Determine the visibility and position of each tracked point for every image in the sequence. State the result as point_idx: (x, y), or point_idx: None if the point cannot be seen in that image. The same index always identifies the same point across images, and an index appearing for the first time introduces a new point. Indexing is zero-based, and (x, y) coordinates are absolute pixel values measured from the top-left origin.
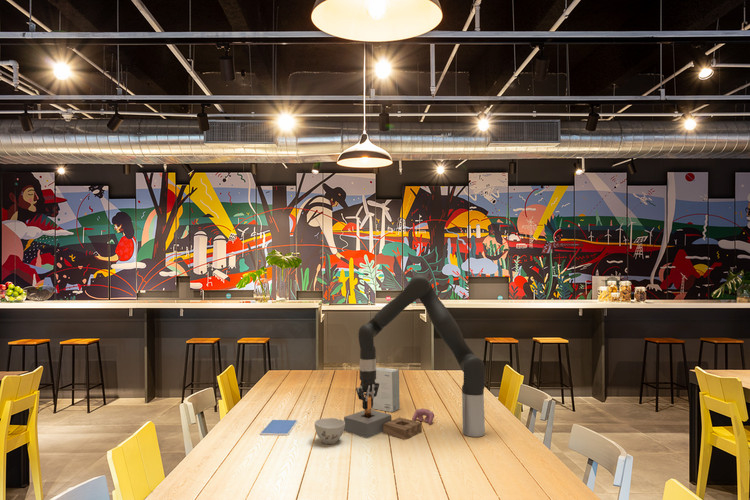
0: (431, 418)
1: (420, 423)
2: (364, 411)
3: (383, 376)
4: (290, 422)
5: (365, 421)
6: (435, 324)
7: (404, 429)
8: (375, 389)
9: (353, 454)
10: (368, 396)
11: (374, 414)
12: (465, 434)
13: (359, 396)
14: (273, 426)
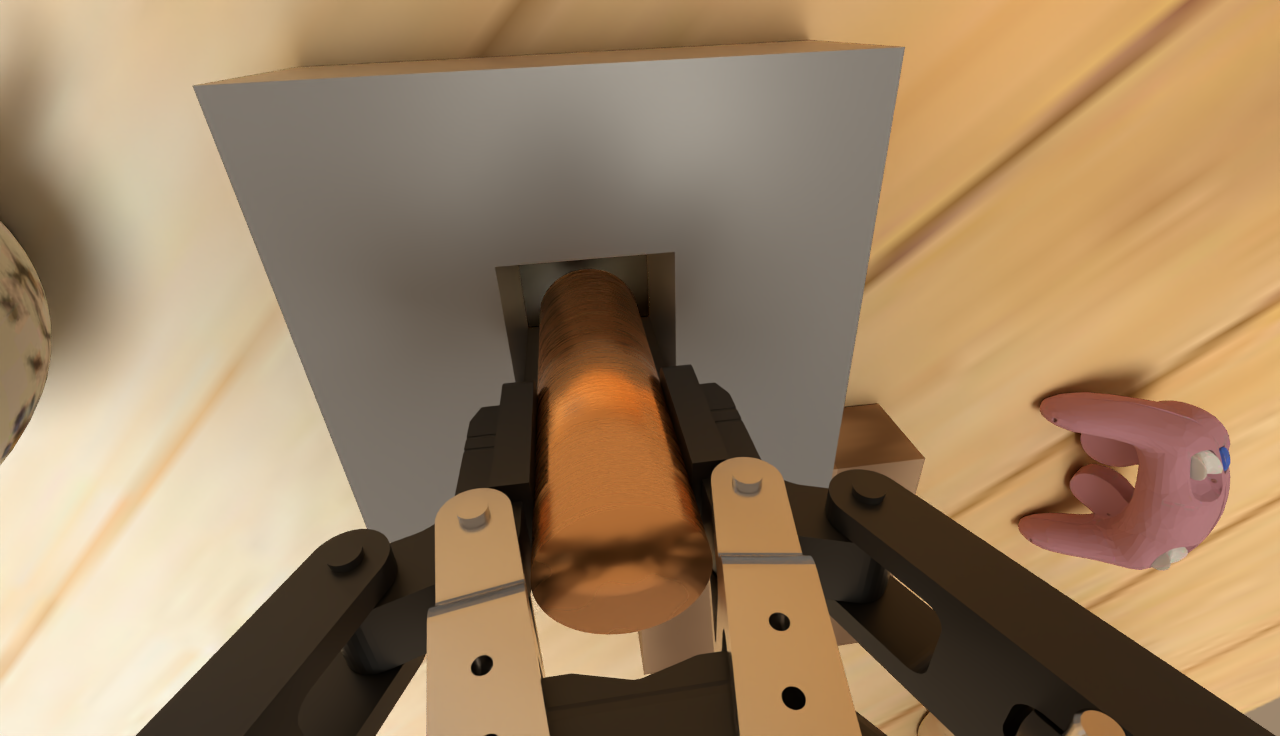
0: (1078, 555)
1: (856, 641)
2: (546, 347)
3: None
4: None
5: (402, 479)
6: None
7: (647, 667)
8: (951, 707)
9: (91, 598)
10: (644, 577)
11: (710, 353)
12: (928, 718)
13: (289, 636)
14: None
